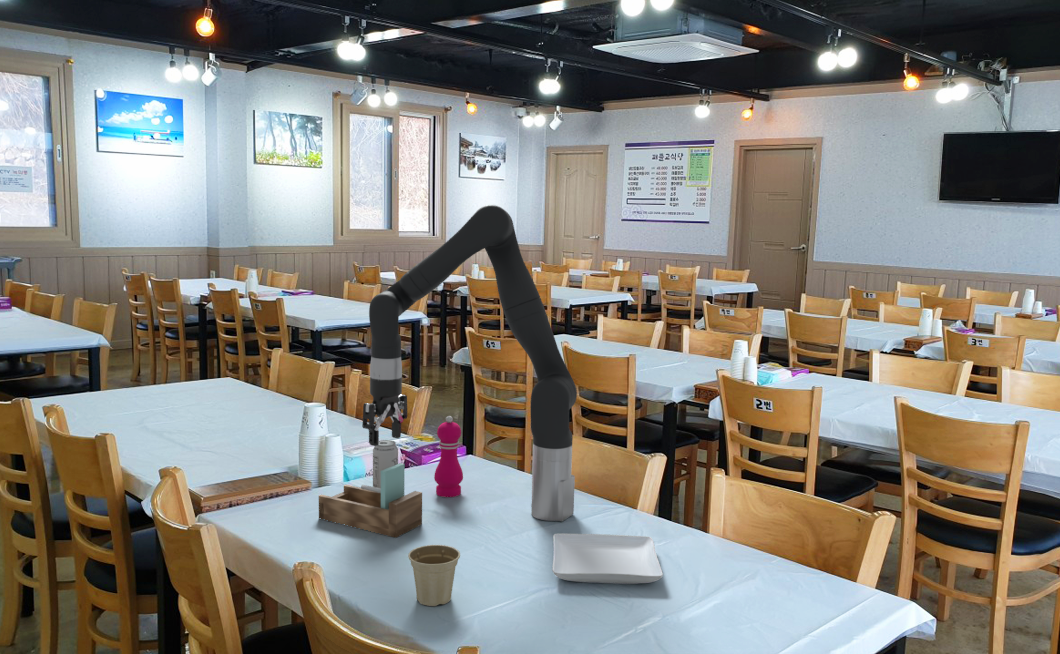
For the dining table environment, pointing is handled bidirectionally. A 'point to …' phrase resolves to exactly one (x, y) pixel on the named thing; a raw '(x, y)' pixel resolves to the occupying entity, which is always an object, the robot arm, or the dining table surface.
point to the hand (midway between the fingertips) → (385, 441)
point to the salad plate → (605, 558)
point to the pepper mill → (448, 460)
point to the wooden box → (372, 511)
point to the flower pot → (434, 573)
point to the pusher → (390, 485)
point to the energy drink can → (383, 459)
